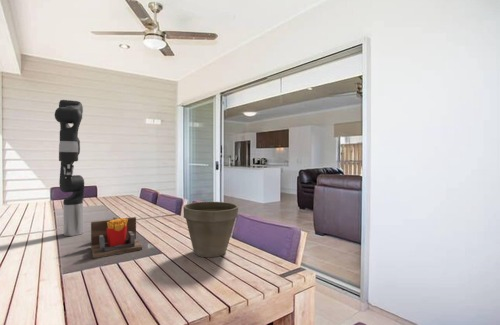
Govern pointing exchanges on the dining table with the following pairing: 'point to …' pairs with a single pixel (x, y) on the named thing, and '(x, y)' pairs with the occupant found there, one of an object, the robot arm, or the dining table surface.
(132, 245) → the wooden shelf
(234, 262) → the dining table surface
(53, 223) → the dining table surface
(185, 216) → the plant pot
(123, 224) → the french fries
